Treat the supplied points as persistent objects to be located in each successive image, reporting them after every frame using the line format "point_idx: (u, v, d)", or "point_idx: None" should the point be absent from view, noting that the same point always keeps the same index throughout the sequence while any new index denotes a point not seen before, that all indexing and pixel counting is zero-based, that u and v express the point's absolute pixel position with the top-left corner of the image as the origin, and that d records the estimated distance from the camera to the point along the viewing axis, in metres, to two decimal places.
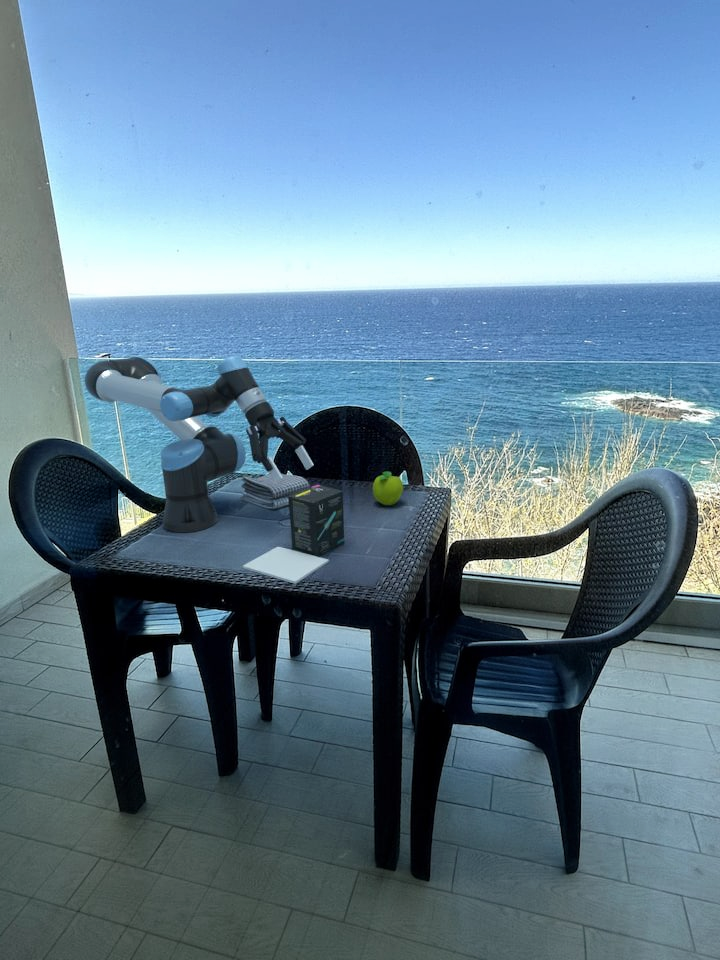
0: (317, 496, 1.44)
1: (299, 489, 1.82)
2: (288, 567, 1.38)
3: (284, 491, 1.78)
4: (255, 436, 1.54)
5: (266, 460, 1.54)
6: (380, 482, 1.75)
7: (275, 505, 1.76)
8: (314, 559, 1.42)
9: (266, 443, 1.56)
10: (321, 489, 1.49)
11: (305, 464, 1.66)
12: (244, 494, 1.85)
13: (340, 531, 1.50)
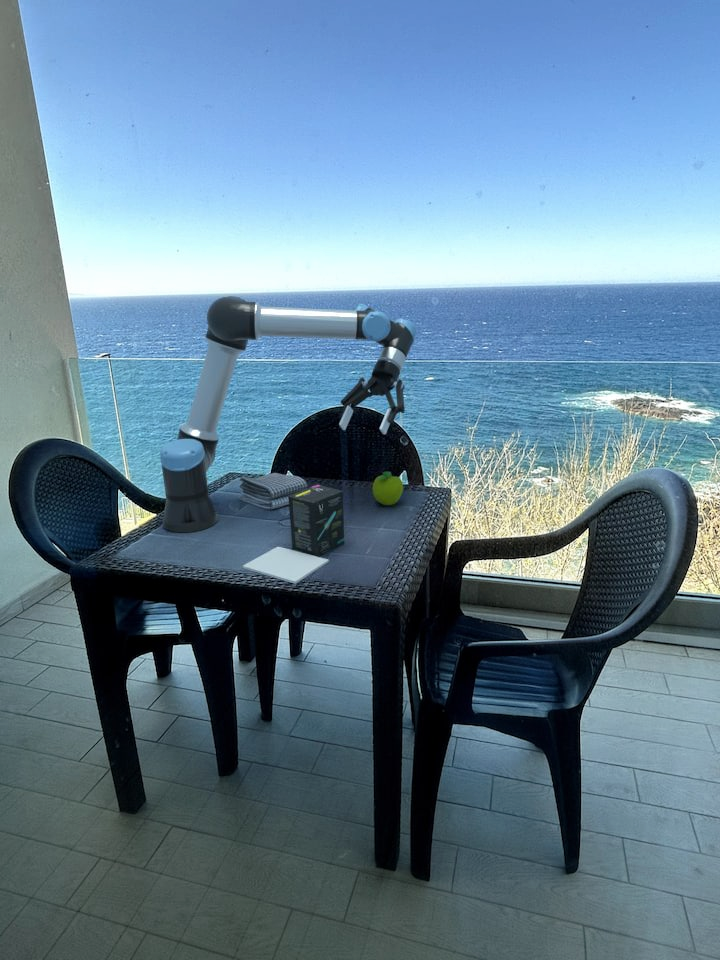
0: (317, 496, 1.44)
1: (297, 489, 1.82)
2: (288, 567, 1.38)
3: (282, 492, 1.78)
4: None
5: None
6: (380, 482, 1.75)
7: (273, 505, 1.76)
8: (314, 559, 1.42)
9: None
10: (321, 489, 1.49)
11: (344, 422, 1.64)
12: (242, 494, 1.85)
13: (340, 531, 1.50)
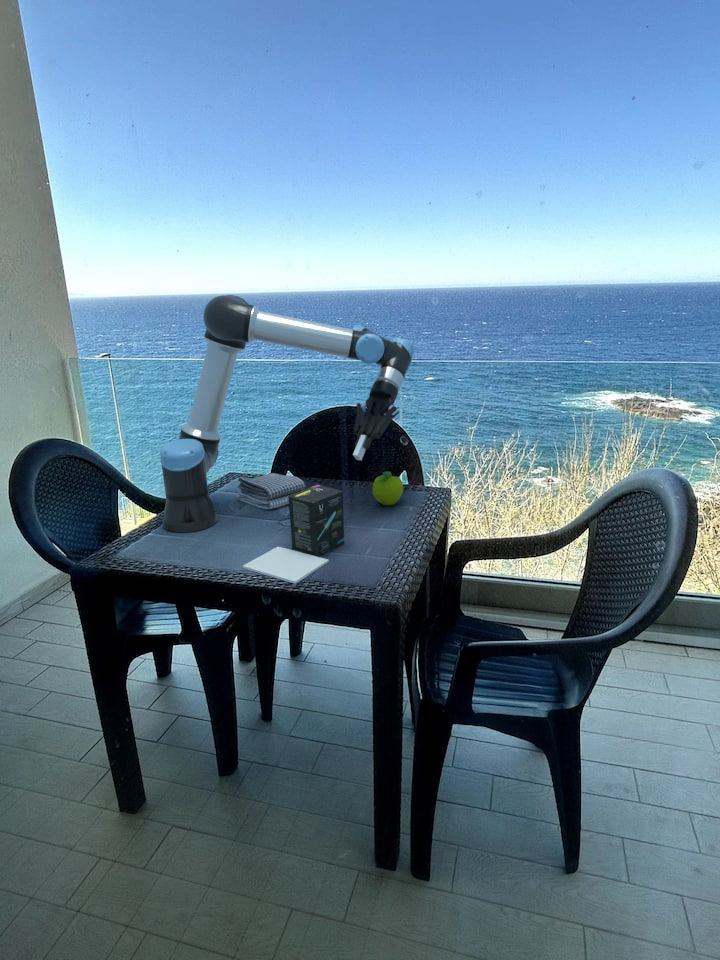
0: (317, 496, 1.44)
1: (295, 489, 1.82)
2: (288, 567, 1.38)
3: (280, 492, 1.78)
4: None
5: None
6: (380, 482, 1.75)
7: (271, 506, 1.76)
8: (314, 559, 1.42)
9: None
10: (321, 489, 1.49)
11: None
12: (240, 494, 1.85)
13: (340, 531, 1.50)
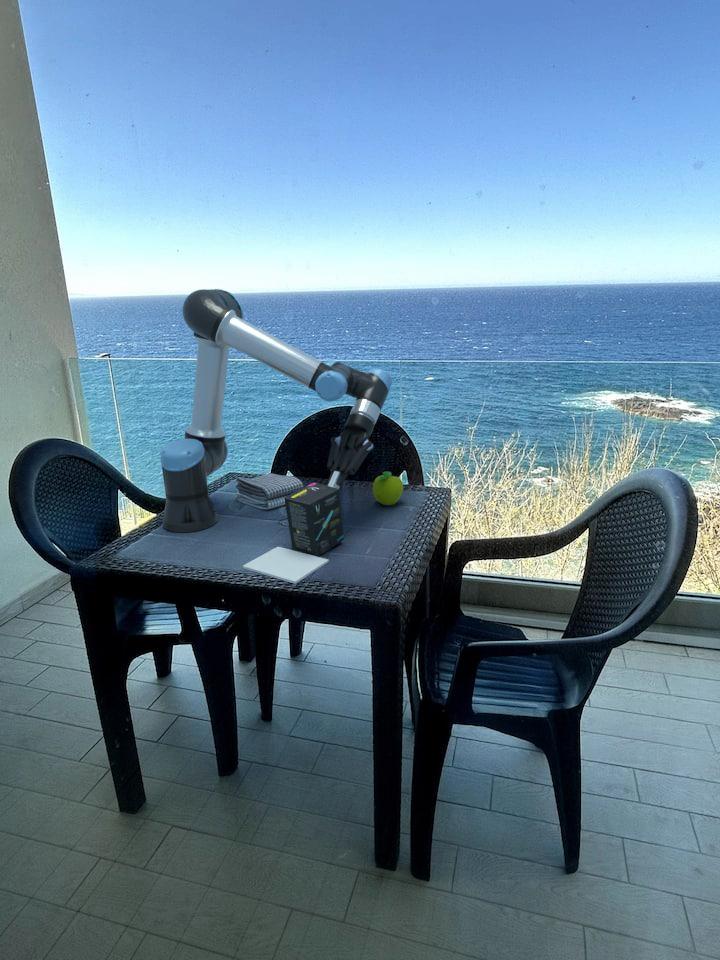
0: (313, 497, 1.43)
1: (293, 490, 1.82)
2: (288, 567, 1.38)
3: (278, 492, 1.77)
4: None
5: None
6: (380, 482, 1.75)
7: (269, 506, 1.76)
8: (314, 559, 1.42)
9: None
10: (317, 488, 1.48)
11: None
12: (238, 495, 1.85)
13: (339, 529, 1.50)
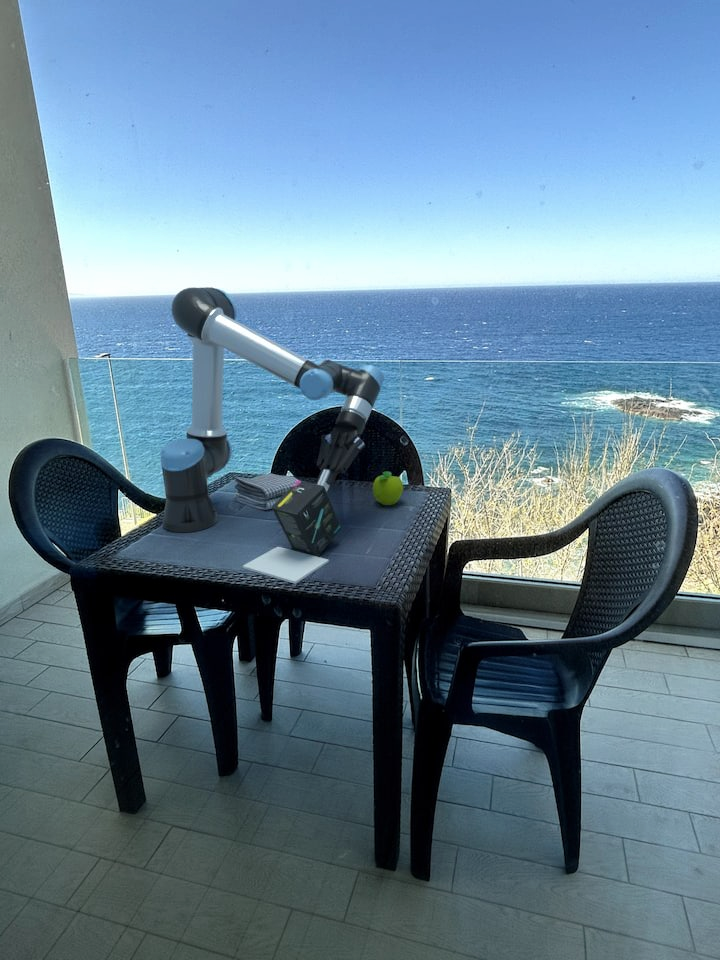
0: (299, 503, 1.39)
1: None
2: (288, 567, 1.38)
3: (277, 492, 1.77)
4: None
5: None
6: (380, 482, 1.75)
7: (268, 506, 1.76)
8: (314, 559, 1.42)
9: None
10: (302, 489, 1.44)
11: None
12: (237, 495, 1.85)
13: (334, 522, 1.48)
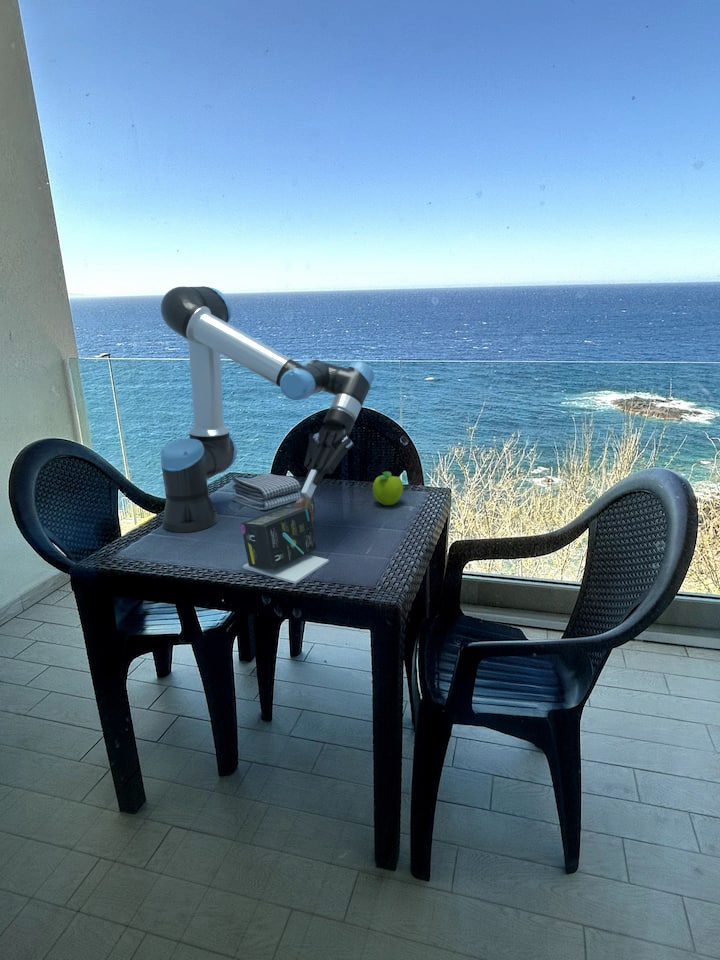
0: (264, 555, 1.34)
1: (290, 490, 1.82)
2: (288, 567, 1.38)
3: (275, 492, 1.77)
4: None
5: None
6: (380, 482, 1.75)
7: (266, 506, 1.76)
8: (314, 559, 1.42)
9: None
10: (253, 536, 1.35)
11: None
12: (235, 495, 1.85)
13: (300, 518, 1.40)
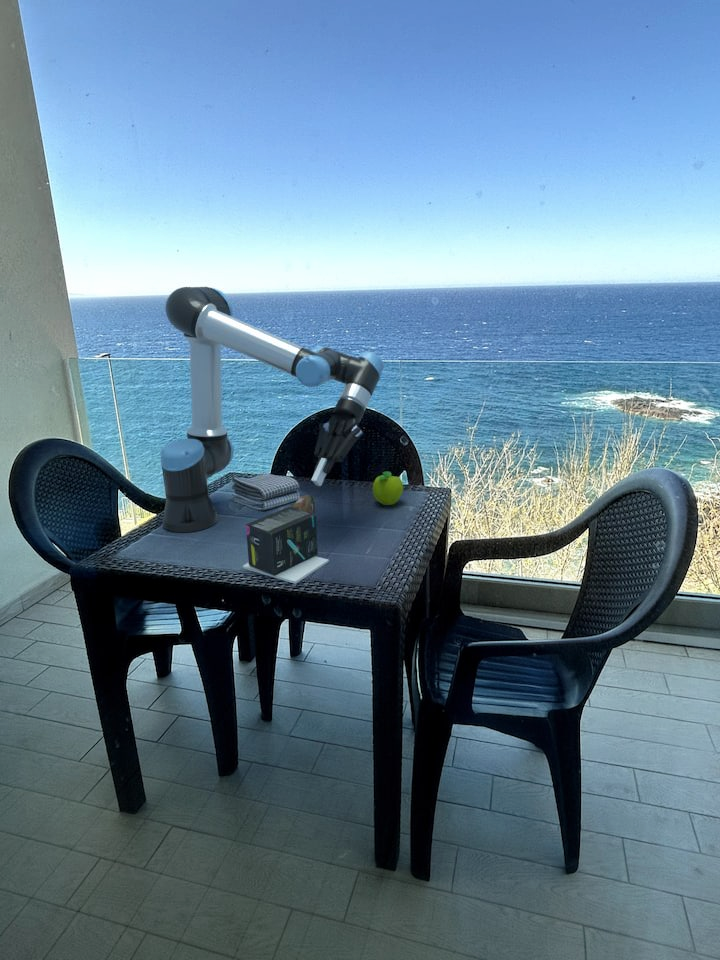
0: (267, 560, 1.34)
1: (289, 490, 1.82)
2: None
3: (274, 492, 1.77)
4: None
5: None
6: (380, 482, 1.75)
7: (265, 506, 1.76)
8: (314, 559, 1.42)
9: None
10: (257, 539, 1.34)
11: None
12: (234, 495, 1.85)
13: (305, 525, 1.39)
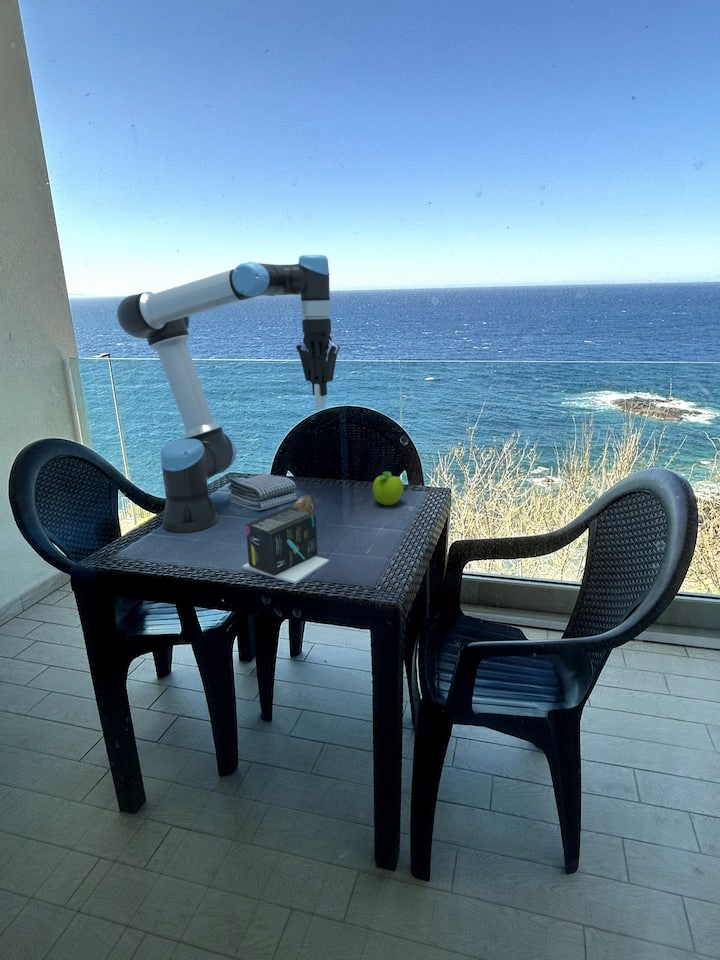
0: (267, 560, 1.34)
1: (286, 490, 1.81)
2: None
3: (271, 493, 1.77)
4: None
5: None
6: (380, 482, 1.75)
7: (262, 507, 1.75)
8: (314, 559, 1.42)
9: None
10: (257, 539, 1.34)
11: None
12: (230, 496, 1.84)
13: (305, 525, 1.39)
